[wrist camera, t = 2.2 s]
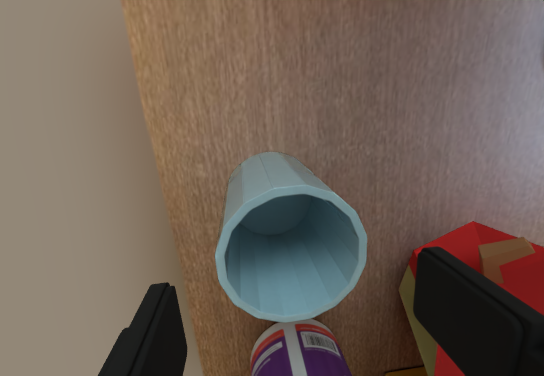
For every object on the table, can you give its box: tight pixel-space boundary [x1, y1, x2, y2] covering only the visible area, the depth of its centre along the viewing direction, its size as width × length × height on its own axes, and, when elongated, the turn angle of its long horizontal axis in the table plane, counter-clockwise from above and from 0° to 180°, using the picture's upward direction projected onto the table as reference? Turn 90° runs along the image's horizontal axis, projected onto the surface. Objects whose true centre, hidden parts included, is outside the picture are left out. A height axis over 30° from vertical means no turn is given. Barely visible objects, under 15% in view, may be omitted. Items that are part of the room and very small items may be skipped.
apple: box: [398, 221, 544, 376], centre depth 19 cm, size 12×12×15 cm
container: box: [215, 152, 367, 323], centre depth 16 cm, size 7×7×9 cm
